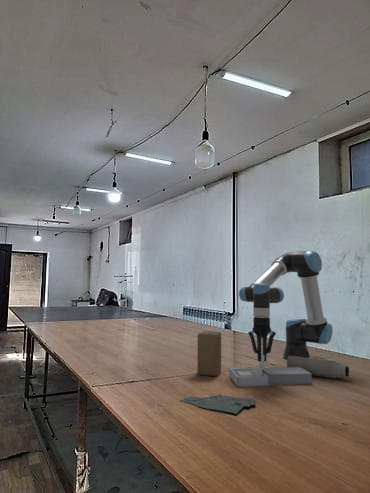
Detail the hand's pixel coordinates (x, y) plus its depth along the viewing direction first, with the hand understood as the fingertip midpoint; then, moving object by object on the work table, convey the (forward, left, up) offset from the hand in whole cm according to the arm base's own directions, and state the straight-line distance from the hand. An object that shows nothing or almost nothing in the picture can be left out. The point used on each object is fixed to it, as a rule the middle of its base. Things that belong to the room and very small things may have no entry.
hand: (262, 368), depth 169 cm
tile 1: (+8, 0, -2) cm, 8 cm away
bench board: (-11, 0, -6) cm, 12 cm away
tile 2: (+1, 0, -2) cm, 2 cm away
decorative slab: (+25, +30, -6) cm, 40 cm away
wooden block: (+22, -15, -6) cm, 27 cm away
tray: (+6, 0, -6) cm, 9 cm away
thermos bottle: (-19, -16, -2) cm, 25 cm away
